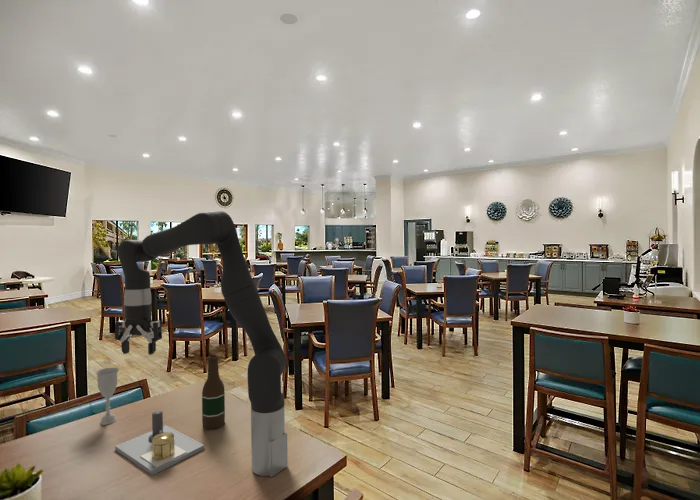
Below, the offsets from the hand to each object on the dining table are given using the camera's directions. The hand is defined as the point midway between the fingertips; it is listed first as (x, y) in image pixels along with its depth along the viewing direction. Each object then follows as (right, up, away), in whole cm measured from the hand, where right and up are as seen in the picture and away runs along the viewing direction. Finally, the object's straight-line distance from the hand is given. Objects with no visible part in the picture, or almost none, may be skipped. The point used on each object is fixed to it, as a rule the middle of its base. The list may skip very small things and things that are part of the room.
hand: (138, 353), depth 120 cm
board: (+9, -28, -4) cm, 30 cm away
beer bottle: (+20, -28, +11) cm, 36 cm away
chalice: (-19, -28, +14) cm, 36 cm away
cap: (+13, -27, -10) cm, 31 cm away
